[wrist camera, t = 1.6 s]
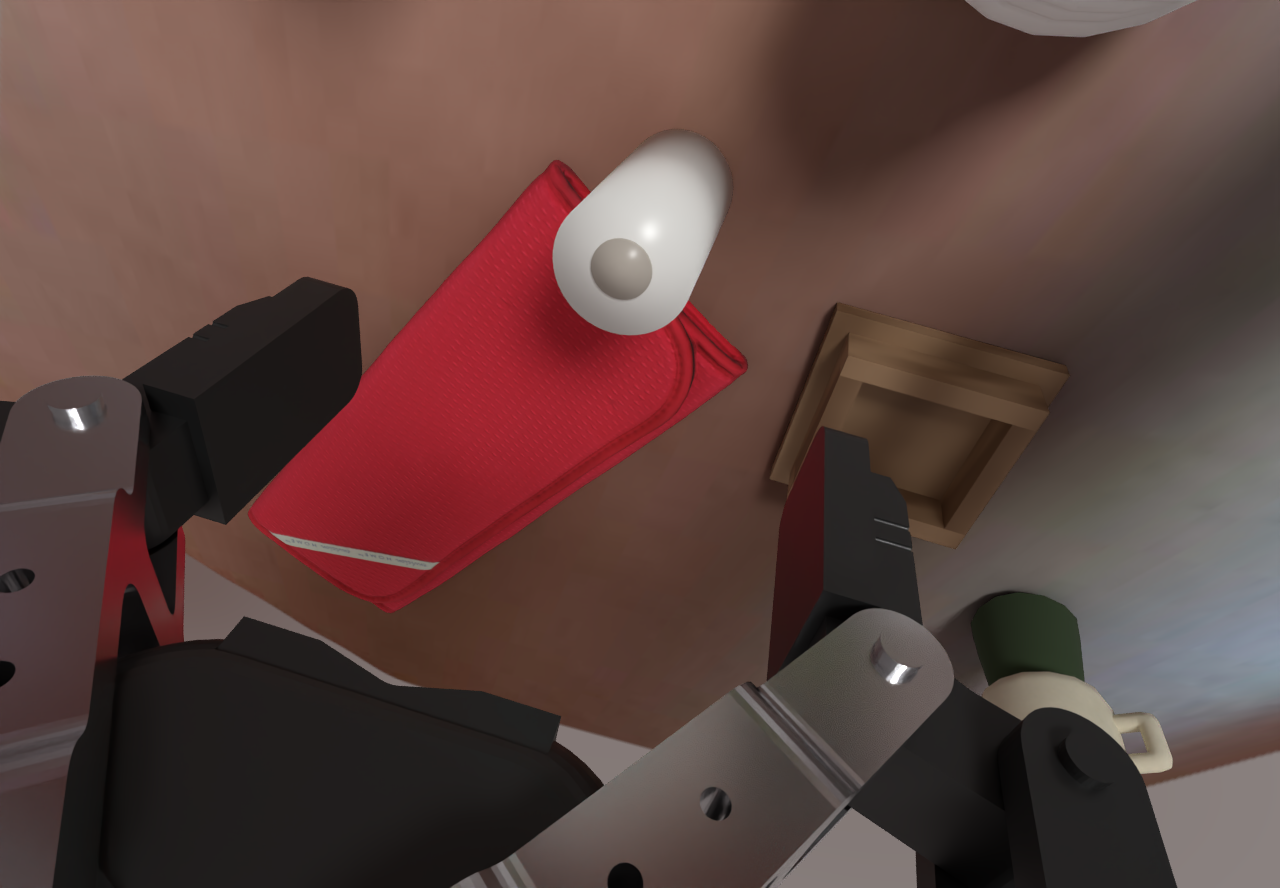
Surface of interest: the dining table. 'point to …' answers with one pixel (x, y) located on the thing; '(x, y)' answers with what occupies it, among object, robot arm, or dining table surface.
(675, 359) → the red folded cloth
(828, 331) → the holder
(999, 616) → the character mug
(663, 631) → the dining table surface
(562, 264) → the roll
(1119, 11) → the honey pot
